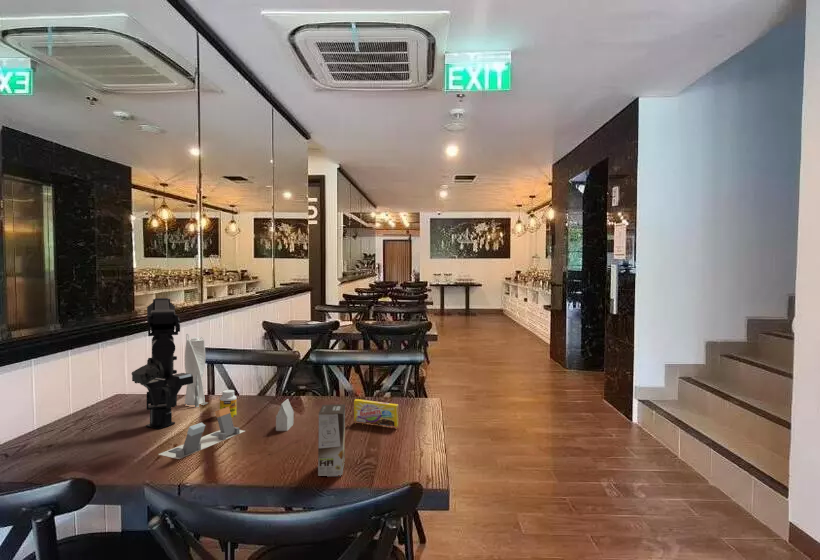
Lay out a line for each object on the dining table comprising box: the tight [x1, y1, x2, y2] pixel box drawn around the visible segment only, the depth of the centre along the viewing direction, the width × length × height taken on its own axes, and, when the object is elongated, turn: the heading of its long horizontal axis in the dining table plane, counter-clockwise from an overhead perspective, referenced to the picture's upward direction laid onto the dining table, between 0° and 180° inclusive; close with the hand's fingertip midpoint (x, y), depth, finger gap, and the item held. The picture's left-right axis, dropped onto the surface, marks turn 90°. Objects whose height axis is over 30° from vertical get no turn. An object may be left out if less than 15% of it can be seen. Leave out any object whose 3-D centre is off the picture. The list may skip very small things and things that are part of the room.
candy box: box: [353, 398, 399, 427], centre depth 159 cm, size 16×2×8 cm, turn 68°
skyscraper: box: [184, 333, 209, 408], centre depth 183 cm, size 8×8×28 cm
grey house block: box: [275, 398, 295, 432], centre depth 152 cm, size 4×7×10 cm, turn 178°
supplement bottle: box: [219, 389, 238, 419], centre depth 164 cm, size 6×6×10 cm
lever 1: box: [182, 421, 207, 456], centre depth 128 cm, size 2×4×8 cm, turn 156°
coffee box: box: [317, 403, 346, 477], centre depth 122 cm, size 9×6×16 cm
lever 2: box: [214, 407, 235, 436], centre depth 143 cm, size 2×4×8 cm, turn 158°
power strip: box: [158, 426, 246, 460], centre depth 138 cm, size 8×25×3 cm, turn 157°
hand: (162, 406), depth 137 cm, fingers open, 5 cm apart
